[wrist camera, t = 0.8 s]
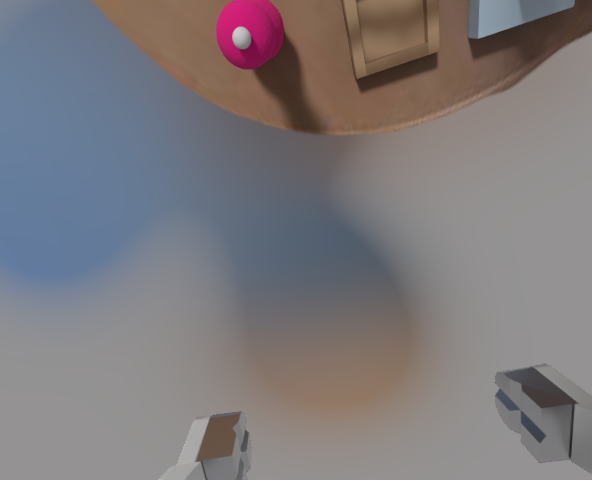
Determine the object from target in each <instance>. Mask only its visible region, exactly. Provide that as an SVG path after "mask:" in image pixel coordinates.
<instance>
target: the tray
mask: <svg viewBox="0 0 592 480" xmlns="http://www.w3.org/2000/svg"><path fill="white" fill-rule="evenodd" d="M341 2H342V7H343V13H344V19H345V25H346V31H347V36H348V42H349V48H350V54H351V60H352V65H353V71H354V76H355V77H356V78H357V79H359V78H362V77H364V76H367V75H370V74H373V73H376V72H379V71H382V70H385V69H388V68H391V67H394V66H397V65H400V64H403V63H406V62H409V61H412V60H415V59H418V58H421V57H424V56H427V55H430V54H433V53H435V52H438V51H439V1H438V0H341Z"/></svg>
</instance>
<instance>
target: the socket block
mask: <svg viewBox="0 0 592 480" xmlns="http://www.w3.org/2000/svg"><path fill="white" fill-rule="evenodd" d="M574 3H575V0H469V22H468V38H475V39H479V38H482V37H485V36H488V35H491V34H494V33H497V32H500V31H503V30H506V29H509V28H512V27H515V26H518V25H521V24H524V23H527V22H530V21H533V20H536V19H539V18H542V17H544V16H547V15H550V14H553V13H556V12H559V11H562V10H565V9H568V8H571V7H574Z"/></svg>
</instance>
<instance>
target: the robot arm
mask: <svg viewBox="0 0 592 480" xmlns="http://www.w3.org/2000/svg"><path fill="white" fill-rule="evenodd" d="M495 383H496V384H497V386H498V387H499V388H500V389H499V390H498V392H497V393H496V395H495V402H496V407H497V410H498V412H499V414H500V416H501V418H502V420H503V421H504V423H505V424H506V425H507V426H508V427H509V429H511V430H513V431H515V432H517V433H519V434H520V435H521V442H522V444H523V445H524V446H525V447H526V448H527V449H528V451H529V452H530V453H531V454H532V455H533V456H534V457H535V459H536V460H537V461H538V462H539V463H545V462H553V461H561V460H570V459H571V461H572V462H573V463H575V464H577V465H578V466H580V467H581V468H583V469H584V470H586V471H588V472H589V473H591V474H592V396H591V395H590V394H589V393H587V392H586V391H585V390H583V389H582V388H580V387H579V386H578V385H576V384H575V383H574V382H572V381H571V380H570V379H568V378H567V377H565V376H564V375H563V374H561V373H560V372H559V371H557V370H556V369H555V368H553V367H552V366H550V365H547V364H541V365H535V366H529V367H525V368H519V369H513V370H507V371H501V372H497V373H496V376H495ZM245 426H246V418H245V415H244V412H242V411H241V412H232V413H224V414H216V415H212V416H203V417H197V418H196V419H195V420H194V421H193V424H192V426H191V429H190V432H189V434H188V437H187V440H186V442H185V445H184V447H183V450H182V453H181V455H180V458H179V461H178V463H177V465H174V466H171V467H170V468H169V469H168V470H167V471H166V472H165V473H164V474H163V475H162V476H161V477H160V478H159V479H158V480H248V479H247V475H246V473H247V472H248V470H249V469H250V466H251V440H250V435H249V432H247V431H246V430H245Z"/></svg>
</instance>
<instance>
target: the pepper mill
mask: <svg viewBox="0 0 592 480" xmlns="http://www.w3.org/2000/svg"><path fill="white" fill-rule="evenodd" d="M216 34H217V41H218V45H219V47H220V49H221V51H222V53H223V55H224V56H225V57H226V59H227V60H228V61H229V62H231V63H232V64H233V65H235V66H237V67H239V68H242V69H255V68H258V67H260V66H262V65H263V64H264V63H265V62H267V61H268V60H270V59H272V58H273V57H274V56H275V55H276V54H277V53H278V52H279V50H280V48H281V46H282V43H283V39H284V25H283V21H282V18H281V15H280V13H279V12H278V10H277V9H276V7H275V6H274V5H273V4H272V3H271V2H269V1H268V0H235V1H233V2H231V3H229V4H228V5H227V6H226V7H225V8H224V9H223V10H222V12H221V14H220V16H219V18H218V22H217V28H216Z"/></svg>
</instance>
